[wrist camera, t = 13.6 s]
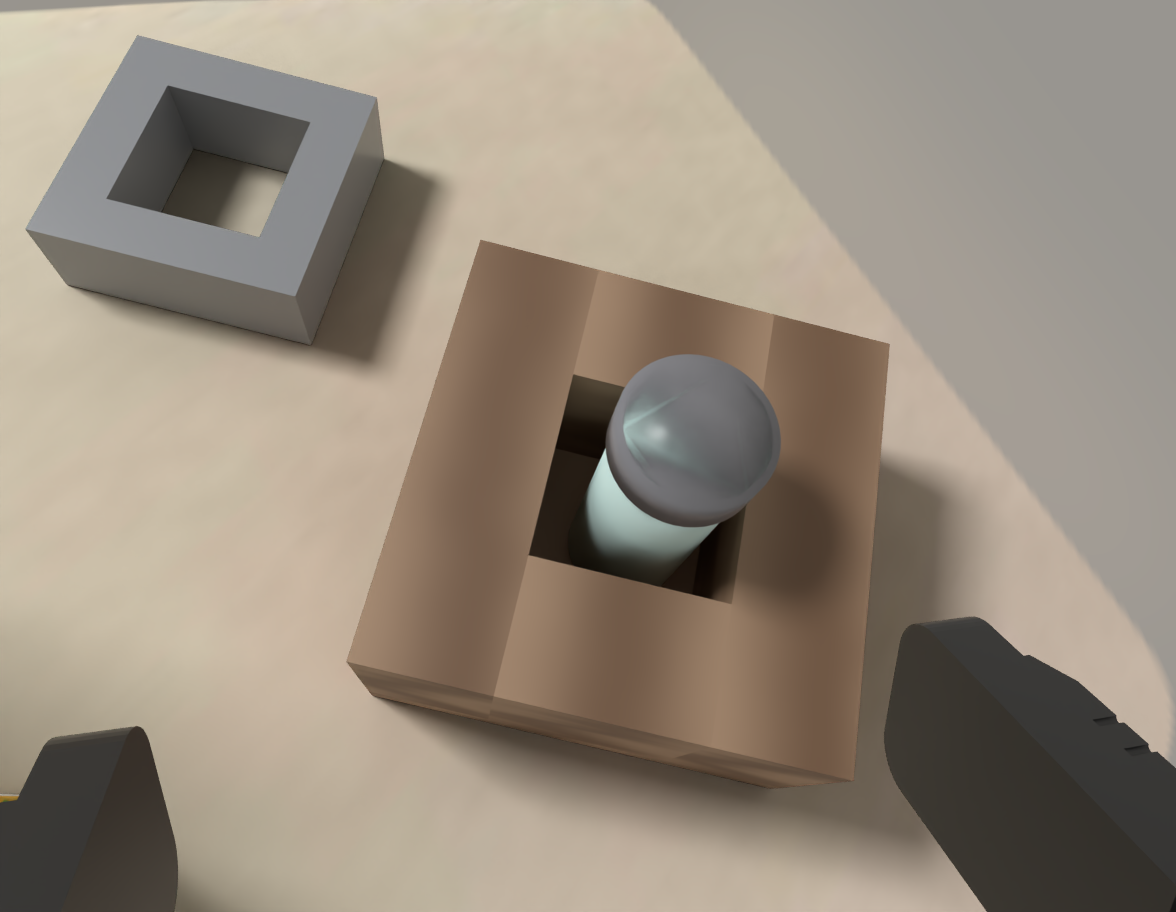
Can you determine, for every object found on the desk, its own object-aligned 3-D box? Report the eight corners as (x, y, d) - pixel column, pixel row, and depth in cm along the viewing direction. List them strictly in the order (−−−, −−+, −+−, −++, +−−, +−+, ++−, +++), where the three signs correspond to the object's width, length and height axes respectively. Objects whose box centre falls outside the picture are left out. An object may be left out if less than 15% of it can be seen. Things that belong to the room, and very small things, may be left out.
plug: (551, 589, 31) (601, 486, 22) (575, 475, 33) (630, 336, 23) (672, 616, 31) (772, 527, 22) (689, 502, 33) (788, 376, 24)
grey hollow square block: (66, 284, 34) (25, 229, 31) (165, 101, 38) (137, 35, 35) (311, 345, 34) (295, 296, 31) (384, 157, 38) (376, 97, 35)
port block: (372, 695, 30) (346, 661, 23) (477, 345, 35) (480, 239, 29) (771, 788, 30) (853, 780, 24) (813, 429, 36) (889, 343, 29)
